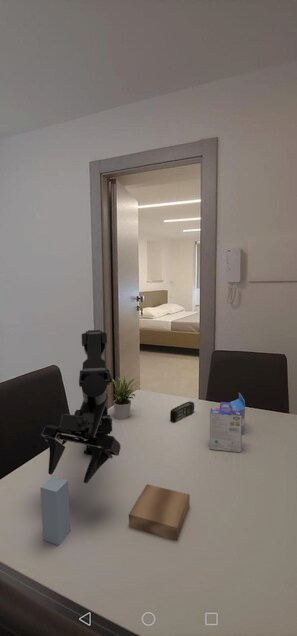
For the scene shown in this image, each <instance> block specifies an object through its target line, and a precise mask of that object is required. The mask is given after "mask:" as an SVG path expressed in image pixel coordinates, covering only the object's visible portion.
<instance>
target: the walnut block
mask: <svg viewBox="0 0 297 636" xmlns="http://www.w3.org/2000/svg"><path fill="white" fill-rule="evenodd" d="M190 496H191V495H190V494H189V493H185V492H181V491H177V490H173V489H169V488H164V487H161V486H157V485H151V484H148V483H146V485H145V486H144V488H143V490H142V491H141V493H140V495H139V496H138V499H137V500H136V501H135V503H134V505H133V506H132V508H131V509H130V511H129V513H128V527H129V528H131V529H135V530H138V531H141V532H145V533H147V534H150V535H151V534H152V535H154V536H158V537H162V538H165V539H167V540H171V541H174V542H175V541H176V542H177V541H178V539H179V537H180V534H181V532H182V531H181V530H182V528H183V525H184V522H185V520H186V516H187V515H188V512H189V508H190V503H191V502H190V501H191V500H190Z"/></svg>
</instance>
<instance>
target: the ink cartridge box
mask: <svg viewBox="0 0 297 636" xmlns="http://www.w3.org/2000/svg"><path fill="white" fill-rule="evenodd" d="M225 405H227V406H225ZM229 406H230V407H229ZM209 413H210V415H209V449H210V450H215V451H226V452H235V453H241V451H242V435H241V432H242V414H241V410H240V409H232V405H231V403H229V402H228V401H227V402H225V401H220V402H219V407H211V408H210V411H209Z"/></svg>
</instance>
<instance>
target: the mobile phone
mask: <svg viewBox="0 0 297 636" xmlns="http://www.w3.org/2000/svg"><path fill="white" fill-rule="evenodd" d="M194 411H195V403H194V401H192V400H190V401H187V402H184V403H182V404H180V405H178V406H176V407H174V408H172V409H171V410H170V413H169V415H170V416H169V419H170V422H171V423H175V424H176V423H177V422H179V421H180V420H182V419H185V418H187V417H189V416H190V415H192V413H194Z"/></svg>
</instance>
